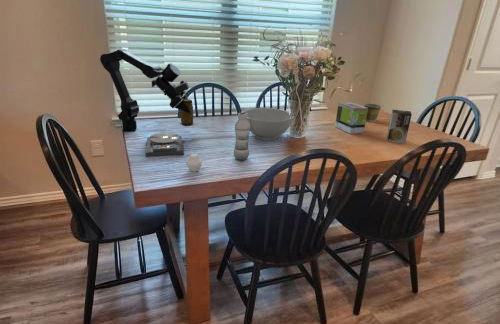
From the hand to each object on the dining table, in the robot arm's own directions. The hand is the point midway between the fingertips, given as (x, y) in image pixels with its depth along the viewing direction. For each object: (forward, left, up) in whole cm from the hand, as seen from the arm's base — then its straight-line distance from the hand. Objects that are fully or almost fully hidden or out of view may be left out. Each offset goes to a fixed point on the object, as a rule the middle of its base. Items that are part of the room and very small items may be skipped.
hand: (190, 110), depth 161 cm
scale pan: (-13, -13, -10) cm, 21 cm away
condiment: (-2, 0, -7) cm, 7 cm away
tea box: (+91, 0, -13) cm, 92 cm away
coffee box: (+106, -22, -13) cm, 109 cm away
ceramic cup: (+116, +18, -13) cm, 118 cm away
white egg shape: (-2, -43, -13) cm, 45 cm away
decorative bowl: (+39, -6, -13) cm, 41 cm away
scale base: (-13, -16, -13) cm, 25 cm away
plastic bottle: (+19, -34, -13) cm, 41 cm away
